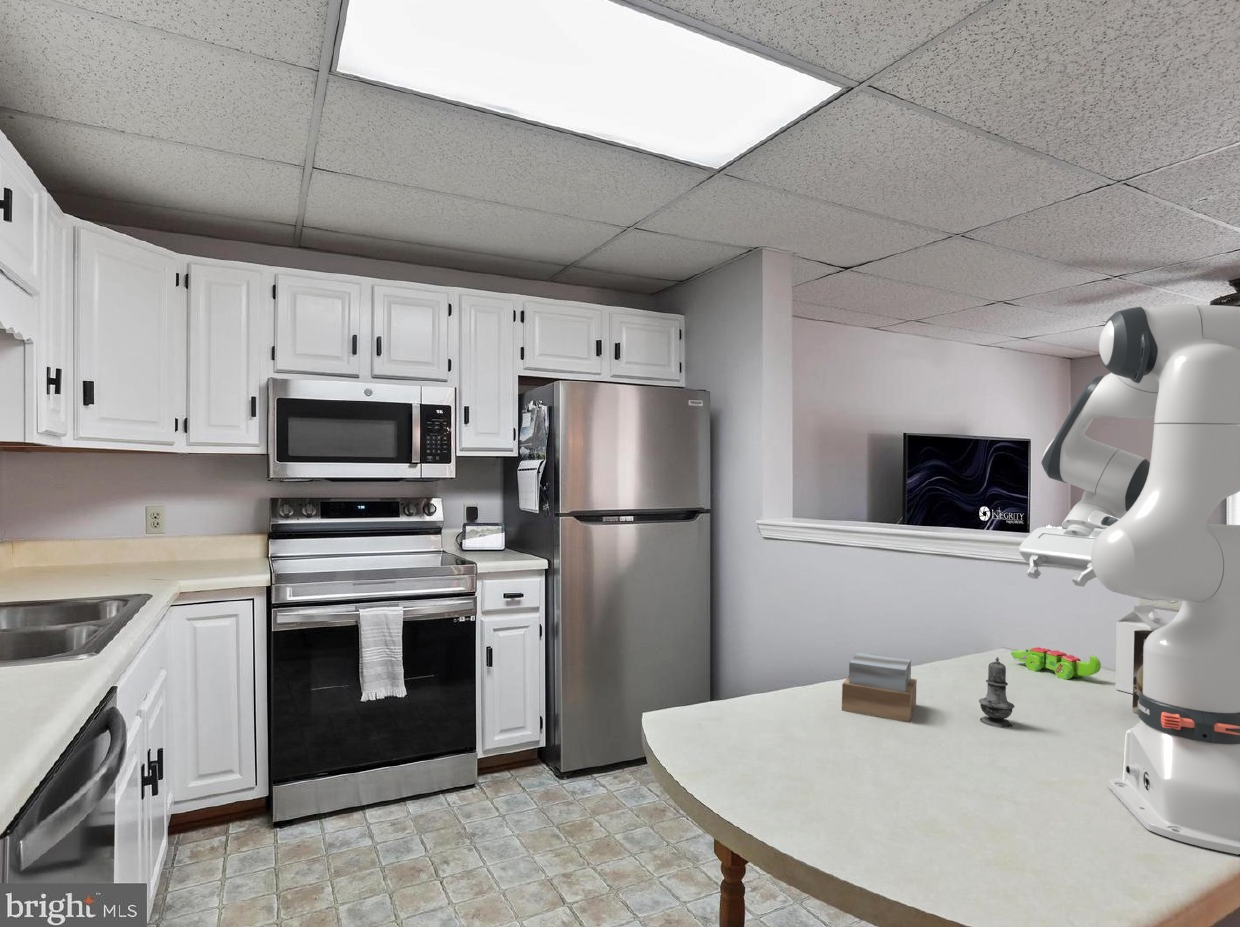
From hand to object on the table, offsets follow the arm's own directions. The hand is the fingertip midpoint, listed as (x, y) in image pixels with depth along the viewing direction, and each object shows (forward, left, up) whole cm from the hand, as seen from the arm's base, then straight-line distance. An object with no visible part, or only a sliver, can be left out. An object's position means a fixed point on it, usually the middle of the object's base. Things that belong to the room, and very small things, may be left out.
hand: (1053, 580), depth 139 cm
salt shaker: (-12, +9, -26) cm, 30 cm away
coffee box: (+10, -20, -26) cm, 34 cm away
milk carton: (+29, -19, -26) cm, 44 cm away
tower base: (-15, +29, -26) cm, 42 cm away
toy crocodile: (+38, -3, -26) cm, 47 cm away
